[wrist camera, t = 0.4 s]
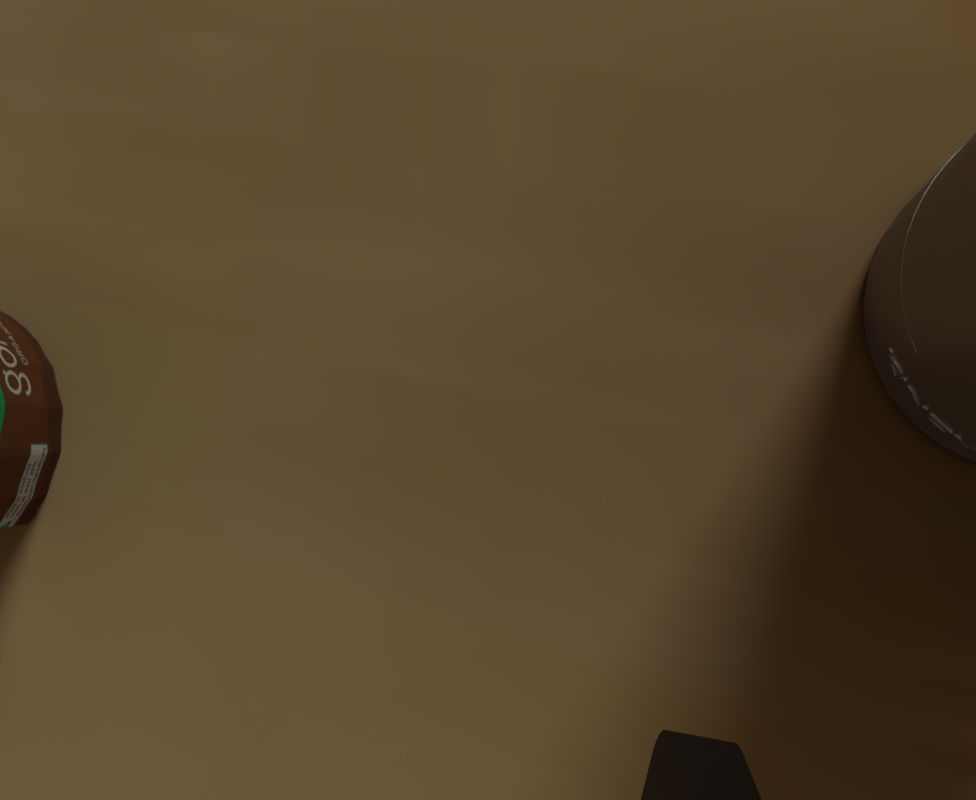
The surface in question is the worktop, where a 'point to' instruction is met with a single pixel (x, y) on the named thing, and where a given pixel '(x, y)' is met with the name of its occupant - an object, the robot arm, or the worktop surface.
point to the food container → (26, 423)
